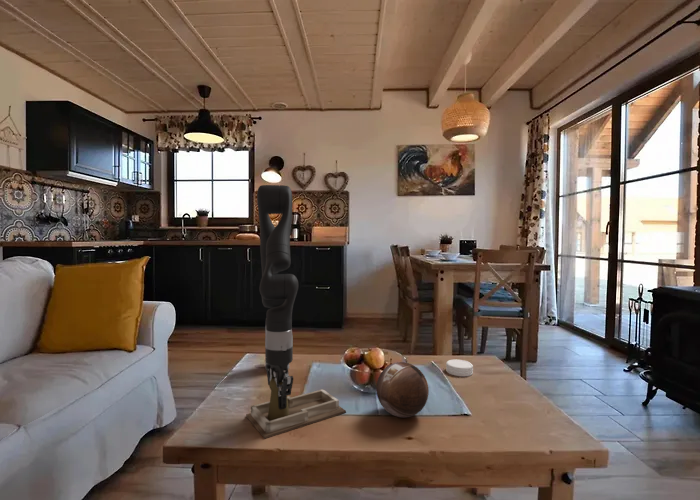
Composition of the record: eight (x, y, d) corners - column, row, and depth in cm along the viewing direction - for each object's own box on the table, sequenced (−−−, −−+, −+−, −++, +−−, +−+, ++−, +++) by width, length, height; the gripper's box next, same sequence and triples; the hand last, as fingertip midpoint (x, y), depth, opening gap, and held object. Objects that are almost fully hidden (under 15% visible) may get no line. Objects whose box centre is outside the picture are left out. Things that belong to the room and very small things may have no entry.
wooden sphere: (366, 416, 105) (366, 365, 104) (392, 398, 116) (393, 352, 116) (413, 433, 95) (413, 377, 95) (436, 412, 107) (437, 362, 107)
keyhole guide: (246, 416, 104) (246, 405, 104) (321, 395, 118) (321, 386, 118) (264, 438, 93) (264, 426, 92) (345, 412, 107) (345, 402, 107)
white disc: (476, 377, 136) (476, 367, 135) (450, 377, 136) (450, 367, 135) (467, 367, 146) (468, 359, 145) (443, 367, 146) (443, 358, 145)
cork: (263, 419, 101) (263, 380, 100) (275, 409, 106) (275, 372, 106) (281, 423, 99) (282, 383, 98) (293, 413, 104) (293, 375, 104)
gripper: (257, 341, 105) (257, 399, 106) (276, 354, 94) (276, 419, 94) (281, 337, 110) (280, 393, 110) (302, 349, 98) (302, 412, 99)
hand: (279, 405), depth 102 cm, fingers closed on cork, 4 cm apart
